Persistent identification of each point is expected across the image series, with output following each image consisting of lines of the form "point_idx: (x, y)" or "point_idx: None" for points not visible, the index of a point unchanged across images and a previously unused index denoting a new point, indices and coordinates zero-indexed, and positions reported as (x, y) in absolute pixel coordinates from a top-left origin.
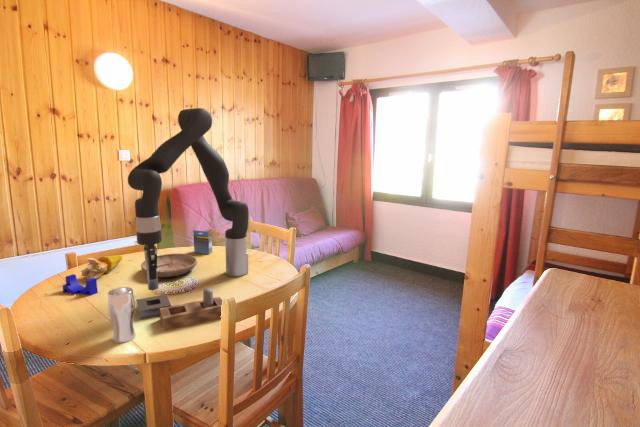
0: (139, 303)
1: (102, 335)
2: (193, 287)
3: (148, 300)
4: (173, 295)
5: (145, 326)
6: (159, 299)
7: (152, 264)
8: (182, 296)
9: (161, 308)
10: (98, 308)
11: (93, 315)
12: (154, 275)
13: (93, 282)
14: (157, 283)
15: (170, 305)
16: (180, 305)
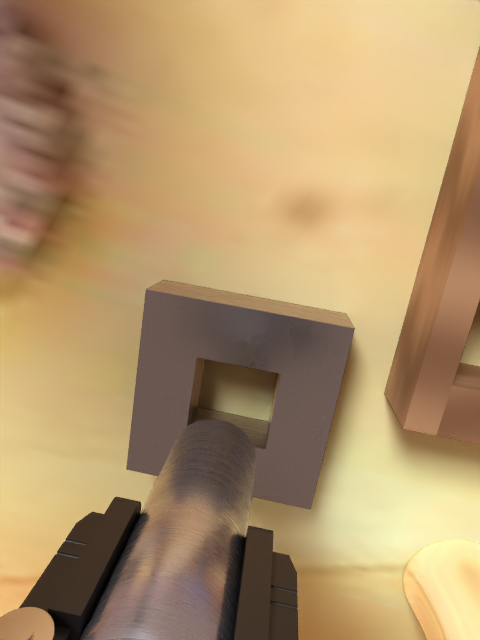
0: None
1: (360, 633)
2: (10, 19)
3: (183, 418)
4: (84, 208)
5: (410, 477)
6: (210, 359)
7: None
8: (133, 160)
9: (416, 420)
10: None
11: None
12: (294, 600)
13: None
14: (236, 459)
15: (353, 331)
16: (466, 297)
